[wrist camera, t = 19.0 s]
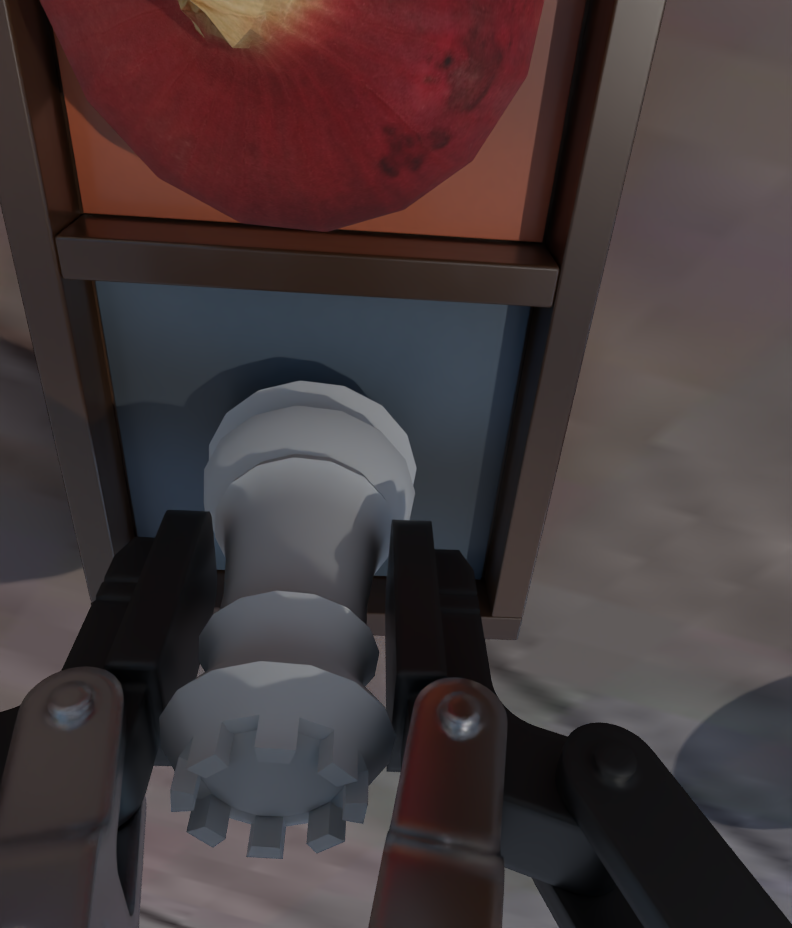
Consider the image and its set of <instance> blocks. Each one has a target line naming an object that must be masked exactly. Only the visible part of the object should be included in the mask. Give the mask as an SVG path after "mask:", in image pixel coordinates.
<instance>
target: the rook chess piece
mask: <svg viewBox="0 0 792 928" xmlns="http://www.w3.org/2000/svg"><path fill="white" fill-rule="evenodd" d="M416 469H417V468H416V464H415V461H414V457H413V454H412V450H411V446H410V443H409V439H408V436H407V434H406V433H405V432H404V430H403V429H402V428H401V427H400V426H399V425H398V423H397V422H396V421H395V420H394V419H393V418H392V417H391V415H390V414H389V413H388V412H387V411H386V410H385V408H384V407H383V406H382V405H380V404H378V403H376V402H374V401H372V400H370V399H368V398H366V397H365V396H363V395H361V394H359V393H357V392H355V391H353V390H351V389H349V388H347V387H345V386H340V385H332V384H324V383H316V382H308V381H296V382H292V383H288V384H283V385H279V386H275V387H270V388H266V389H262V390H258V391H257V392H255V393H254V394H252V395H251V396H250V397H248V398H247V399H245V400H244V401H243V402H241V403H240V404H239V405H237V406H236V407H234V408H233V409H232V410H230V411H229V412H227V413H226V415H225V416H224V418H223V420H222V422H221V424H220V426H219V427H218V429H217V431H216V433H215V435H214V437H213V438H212V440H211V442H210V444H209V461H208V463H207V465H206V467H205V469H204V508H205V511H209V512H210V513H211V516H212V524H213V531H214V533H215V538H216V540H217V542H218V544H219V546H220V548H221V550H222V552H223V554H224V556H225V558H226V564H225V581H224V594H223V598H222V602H221V606H220V610H219V611H218V612H216V613H214V614H213V615H212V617H211V618H210V620H209V621H208V623H207V625H206V626H205V628H204V629H203V631H202V632H201V634H200V635H199V662H200V664H201V666H202V667H203V669H204V671H205V673H203V674H202V675H200V676H198V677H197V678H195V679H194V680H192V681H191V682H189V683H188V684H186V685H184V686H183V687H181V688H180V689H178V690H177V691H176V693H175V694H174V696H173V697H172V699H171V700H170V702H169V703H168V705H167V706H166V708H165V709H164V711H163V712H162V714H161V715H160V717H159V727H160V747H161V748H162V750H163V752H164V754H165V755H166V757H167V759H168V760H169V762H170V764H171V766H172V767H173V769H174V771H175V774H174V778H173V782H172V785H171V789H170V793H171V812H180V811H191V814H190V819H189V823H188V827H187V833H189V834H191V835H192V836H194V837H196V838H197V839H199V840H201V841H203V842H204V843H206V844H208V845H209V846H211V847H215V846H216V845H217V844H219V843H220V842H222V841H223V840H224V839H225V838H226V833H227V827H228V821H229V818H231V819H235V820H238V821H242V822H245V823H248V824H251V830H250V837H249V843H248V850H247V857H258V858H276V859H283V850H284V841H285V832H286V826H292V825H298V824H304V823H308V832H307V844H308V845H309V846H310V847H311V848H312V849H313V850H314V851H315V852H316V853H319V852H322V851H324V850H326V849H329V848H331V847H333V846H336V845H338V844H340V843H343V842H345V828H346V821H350V822H356V823H362V824H363V822H364V818H365V814H366V809H367V805H368V786H369V785H370V784H371V783H372V781H373V780H374V779H375V778H376V777H377V776H378V775H379V774H380V772H381V771H382V770H383V769H384V768H385V767H386V766H387V765H388V764H389V762H390V758H391V754H392V750H393V745H394V741H395V737H396V734H395V732H394V729H393V727H392V724H391V722H390V719H389V717H388V714H387V711H386V709H385V707H384V706H383V705H382V704H381V703H380V702H379V701H378V699H377V698H376V697H375V696H374V695H373V694H372V693H371V692H370V691H369V690H368V689H367V688H366V687H365V686H366V685H367V684H368V683H369V682H370V680H371V679H372V678H373V677H374V676H375V671H376V666H377V661H378V656H379V650H378V647H377V645H376V642H375V640H374V637H373V634H372V632H371V629H370V628H369V627H368V626H367V605H368V600H369V595H370V590H371V585H372V580H373V576H374V574H375V573H376V572H377V571H378V569H379V568H380V567H381V565H382V564H383V563H384V562H385V560H386V559H387V558H388V556H389V544H390V532H391V522H392V519H395V520H410V515H411V511H412V506H413V501H414V496H415V490H414V487H413V484H414V479H415V474H416Z"/></svg>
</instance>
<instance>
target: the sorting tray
mask: <svg viewBox="0 0 792 928" xmlns="http://www.w3.org/2000/svg"><path fill="white" fill-rule="evenodd" d="M666 1H667V0H544V4H543V9H542V13H541V18H540V22H539V27H538V31H537V36H536V40H535V45H534V49H533V53H532V58H531V62H530V67H529V71H528V76H527V77H526V79H525V80H524V82H523V84H522V85H521V87H520V88H519V90H518V91H517V93H516V94H515V96H514V98H513V99H512V101H511V102H510V104H509V105H508V107H507V108H506V110H505V111H504V113H503V115H502V116H501V118H500V119H499V121H498V122H497V124H496V125H495V127H494V129H493V130H492V132H491V133H490V135H489V136H488V138H487V139H486V141H485V143H484V144H483V146H482V147H481V149H480V150H479V152H478V153H477V155H476V157H475V158H474V160H473V161H472V162H470V163H469V164H468V165H466V166H465V167H463V168H462V169H461V170H459V171H458V172H456V173H455V174H454V175H452V176H451V177H449V178H448V179H447V180H445V181H444V182H442V183H441V184H440V185H438V186H437V187H435V188H434V189H433V190H431V191H430V192H428V193H427V194H426V195H424V196H423V197H421V198H420V199H419V200H417V201H416V202H414V203H413V204H412V205H410V206H409V207H407V208H406V209H405V210H402V211H398V212H395V213H391V214H388V215H384V216H381V217H377V218H374V219H370V220H367V221H363V222H360V223H356V224H353V225H349V226H346V227H343V228H339V229H336V230H332V231H329V232H320V231H311V230H301V229H292V228H282V227H272V226H263V225H253V224H244V223H240V222H238V221H236V220H234V219H232V218H231V217H229V216H227V215H225V214H223V213H221V212H220V211H218V210H216V209H214V208H212V207H211V206H209V205H207V204H205V203H203V202H201V201H200V200H198V199H196V198H194V197H192V196H190V195H189V194H187V193H185V192H183V191H181V190H180V189H178V188H176V187H174V186H172V185H170V184H168V183H166V182H165V181H163V180H161V179H159V178H158V177H157V176H156V175H155V174H154V173H153V172H152V171H151V169H150V168H149V167H148V166H147V165H146V164H145V163H144V162H143V161H142V160H141V159H140V158H139V156H138V155H137V154H136V153H135V152H134V151H133V150H132V149H131V148H130V147H129V146H128V144H127V143H126V142H125V141H124V140H123V139H122V138H121V137H120V136H119V135H118V134H117V133H116V131H115V130H114V129H113V128H112V127H111V126H110V125H109V124H108V123H107V122H106V121H105V119H104V118H103V117H102V116H101V115H100V114H99V113H98V112H97V111H96V110H95V109H94V107H93V106H92V105H91V104H90V103H89V102H88V101H87V99H86V97H85V95H84V93H83V91H82V88H81V86H80V84H79V82H78V80H77V78H76V76H75V74H74V72H73V69H72V67H71V65H70V63H69V61H68V59H67V57H66V55H65V52H64V50H63V48H62V46H61V44H60V42H59V40H58V38H57V36H56V33H55V31H54V29H53V27H52V25H51V23H50V21H49V19H48V17H47V15H46V13H45V11H44V9H43V7H42V5H41V3H40V1H39V0H0V204H1V208H2V213H3V217H4V222H5V226H6V230H7V235H8V239H9V243H10V248H11V252H12V257H13V261H14V265H15V270H16V274H17V279H18V283H19V287H20V292H21V296H22V301H23V305H24V309H25V314H26V318H27V323H28V327H29V331H30V336H31V340H32V345H33V349H34V353H35V358H36V362H37V367H38V371H39V375H40V380H41V384H42V389H43V393H44V397H45V402H46V406H47V411H48V415H49V419H50V424H51V428H52V433H53V437H54V441H55V446H56V450H57V455H58V459H59V463H60V468H61V472H62V477H63V481H64V485H65V490H66V494H67V499H68V503H69V507H70V512H71V516H72V521H73V525H74V529H75V534H76V538H77V543H78V547H79V551H80V556H81V560H82V565H83V569H84V573H85V578H86V582H87V587H88V591H89V595H90V600H91V602H92V603H93V601H95V600H96V594H97V592H98V590H99V588H100V586H101V583H102V582H104V577H105V575H106V573H107V570H108V568H109V566H110V564H111V562H112V559H113V557H114V555H115V554H117V553H118V552H119V551H120V550H121V549H122V548H123V547H124V546H125V545H126V544H128V543H129V542H130V541H131V540H132V539H133V538H134V537H156V534H157V532H158V529H159V527H160V524H161V522H162V519H163V517H164V514H165V512H166V511H167V510H190V511H205V508H204V469H205V467H206V465H207V463H208V461H209V444H210V442H211V440H212V438H213V437H214V435H215V433H216V431H217V429H218V427H219V426H220V424H221V422H222V420H223V418H224V416H225V415H226V413H227V412H229V411H230V410H232V409H233V408H234V407H236V406H237V405H239V404H240V403H241V402H243V401H244V400H245V399H247V398H248V397H250V396H251V395H252V394H254V393H255V392H257V391H258V390H262V389H266V388H270V387H275V386H279V385H283V384H288V383H292V382H296V381H308V382H316V383H324V384H332V385H340V386H345V387H347V388H349V389H351V390H353V391H355V392H357V393H359V394H361V395H363V396H365V397H366V398H368V399H370V400H372V401H374V402H376V403H378V404H380V405H382V406H383V407H384V408H385V410H386V411H387V412H388V413H389V414H390V415H391V417H392V418H393V419H394V420H395V421H396V422H397V423H398V425H399V426H400V427H401V428H402V429H403V430H404V432H405V433H406V434H407V436H408V439H409V443H410V446H411V450H412V454H413V457H414V461H415V464H416V468H417V469H416V474H415V479H414V484H413V487H414V490H415V496H414V501H413V506H412V511H411V515H410V520H419V521H431V522H432V528H433V538H434V549H447V550H459V551H460V552H461V553H462V555H463V556H464V557H465V559H466V560H467V562H468V563H469V564H470V566H471V567H472V568H473V570H474V576H475V582H476V588H477V596H478V601H479V607H480V615H481V619H482V625H483V632H484V638H485V639H500V640H517V639H518V635H519V631H520V626H521V622H522V617H523V613H524V609H525V605H526V601H527V596H528V592H529V588H530V583H531V579H532V575H533V571H534V566H535V562H536V558H537V553H538V549H539V545H540V541H541V536H542V532H543V528H544V524H545V519H546V515H547V511H548V506H549V502H550V498H551V494H552V489H553V485H554V481H555V476H556V472H557V468H558V464H559V459H560V455H561V451H562V446H563V442H564V438H565V434H566V429H567V425H568V421H569V416H570V412H571V408H572V404H573V399H574V395H575V391H576V387H577V382H578V378H579V374H580V369H581V365H582V361H583V357H584V352H585V348H586V344H587V339H588V335H589V331H590V327H591V322H592V318H593V314H594V309H595V305H596V301H597V297H598V292H599V288H600V284H601V279H602V275H603V271H604V267H605V262H606V258H607V254H608V250H609V245H610V241H611V237H612V232H613V228H614V224H615V220H616V215H617V211H618V207H619V202H620V198H621V194H622V190H623V185H624V181H625V177H626V172H627V168H628V164H629V160H630V155H631V151H632V147H633V142H634V138H635V134H636V130H637V125H638V121H639V117H640V113H641V108H642V104H643V100H644V95H645V91H646V87H647V83H648V78H649V74H650V70H651V65H652V61H653V57H654V53H655V48H656V44H657V40H658V35H659V31H660V27H661V23H662V18H663V14H664V10H665V5H666ZM213 535H214V545H215V556H216V567H217V595H216V602H215V608H214V612H213V614H214V613H216V612H218V611H219V610H220V606H221V602H222V598H223V594H224V581H225V564H226V558H225V556H224V554H223V552H222V550H221V548H220V546H219V544H218V542H217V540H216V538H215V533H214V531H213ZM387 568H388V558H387V559H386V560H385V562H384V563H383V564H382V565H381V567H380V568H379V569H378V571H377V572H376V573H375V574H374V576H373V580H372V585H371V590H370V595H369V600H368V605H367V626H368V627H369V628H370V629H371V632H372V634H373V635H378V636H385V598H386V580H387ZM92 603H91V605H92Z"/></svg>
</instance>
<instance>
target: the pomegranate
mask: <svg viewBox="0 0 792 928" xmlns="http://www.w3.org/2000/svg"><path fill="white" fill-rule="evenodd" d="M39 1H40V3H41V5H42V7H43V9H44V11H45V13H46V15H47V17H48V19H49V21H50V23H51V25H52V27H53V29H54V31H55V33H56V36H57V38H58V40H59V42H60V44H61V46H62V48H63V50H64V52H65V55H66V57H67V59H68V61H69V63H70V65H71V67H72V69H73V72H74V74H75V76H76V78H77V80H78V82H79V84H80V86H81V88H82V91H83V93H84V95H85V97H86V99H87V101H88V102H89V103H90V104H91V105H92V106H93V107H94V109H95V110H96V111H97V112H98V113H99V114H100V115H101V116H102V117H103V118H104V119H105V121H106V122H107V123H108V124H109V125H110V126H111V127H112V128H113V129H114V130H115V131H116V133H117V134H118V135H119V136H120V137H121V138H122V139H123V140H124V141H125V142H126V143H127V144H128V146H129V147H130V148H131V149H132V150H133V151H134V152H135V153H136V154H137V155H138V156H139V158H140V159H141V160H142V161H143V162H144V163H145V164H146V165H147V166H148V167H149V168H150V169H151V171H152V172H153V173H154V174H155V175H156V176H157V177H158V178H159V179H161V180H163V181H165V182H166V183H168V184H170V185H172V186H174V187H176V188H178V189H180V190H181V191H183V192H185V193H187V194H189V195H190V196H192V197H194V198H196V199H198V200H200V201H201V202H203V203H205V204H207V205H209V206H211V207H212V208H214V209H216V210H218V211H220V212H221V213H223V214H225V215H227V216H229V217H231V218H232V219H234V220H236V221H238V222H240V223H244V224H253V225H263V226H272V227H282V228H292V229H301V230H311V231H320V232H329V231H332V230H336V229H339V228H343V227H346V226H349V225H353V224H356V223H360V222H363V221H367V220H370V219H374V218H377V217H381V216H384V215H388V214H391V213H395V212H398V211H402V210H405V209H406V208H407V207H409V206H410V205H412V204H413V203H414V202H416V201H417V200H419V199H420V198H421V197H423V196H424V195H426V194H427V193H428V192H430V191H431V190H433V189H434V188H435V187H437V186H438V185H440V184H441V183H442V182H444V181H445V180H447V179H448V178H449V177H451V176H452V175H454V174H455V173H456V172H458V171H459V170H461V169H462V168H463V167H465V166H466V165H468V164H469V163H470V162H472V161H473V160H474V158H475V157H476V155H477V153H478V152H479V150H480V149H481V147H482V146H483V144H484V143H485V141H486V139H487V138H488V136H489V135H490V133H491V132H492V130H493V129H494V127H495V125H496V124H497V122H498V121H499V119H500V118H501V116H502V115H503V113H504V111H505V110H506V108H507V107H508V105H509V104H510V102H511V101H512V99H513V98H514V96H515V94H516V93H517V91H518V90H519V88H520V87H521V85H522V84H523V82H524V80H525V79H526V77H527V76H528V71H529V67H530V62H531V58H532V53H533V49H534V45H535V40H536V36H537V31H538V27H539V22H540V18H541V13H542V9H543V4H544V0H39Z"/></svg>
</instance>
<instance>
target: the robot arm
mask: <svg viewBox="0 0 792 928" xmlns="http://www.w3.org/2000/svg"><path fill="white" fill-rule="evenodd" d="M216 595H217V567H216V556H215V545H214V535H213V524H212V516H211V513H210V512H209V511H190V510H167V511H166V512H165V514H164V517H163V519H162V522H161V524H160V527H159V529H158V532H157V534H156V537H134V538H133V539H132V540H131V541H130V542H129V543H128V544H126V545H125V546H124V547H123V548H122V549H121V550H120V551H119V552H118V553H117V554H115V555H114V557H113V559H112V562H111V564H110V566H109V568H108V570H107V573H106V575H105V577H104V582H102V583H101V586H100V588H99V590H98V592H97V594H96V600H95V601H93V603H92V605H91V607H90V610H89V612H88V614H87V616H86V618H85V621H84V623H83V625H82V627H81V629H80V631H79V634H78V636H77V638H76V640H75V642H74V644H73V647H72V649H71V651H70V653H69V655H68V658H67V660H66V662H65V664H64V666H63V668H62V670H61V671H60V672H57V673H55V674H53V675H51V676H49V677H47V678H45V679H44V680H42V681H41V682H40V683H38V684H37V685H36V686H35V687H34V688H33V689H32V690H31V691H30V692H29V693H28V694H27V695H26V697H25V698H24V700H23V701H22V703H21V705H20V706H17V707H15V708H12V709H9V710H6V711H3V712H0V928H139V918H140V902H141V886H142V871H143V855H144V839H145V823H146V808H147V807H146V797H145V793H146V790H147V786H148V783H149V779H150V776H151V772H152V769H153V766H171V764H170V762H169V760H168V759H167V757H166V755H165V754H164V752H163V750H162V748H161V747H160V727H159V717H160V715H161V714H162V712H163V711H164V709H165V708H166V706H167V705H168V703H169V702H170V700H171V699H172V697H173V696H174V694H175V693H176V691H177V690H178V689H180V688H181V687H183V686H184V685H186V684H188V683H189V682H191V681H192V680H194V679H195V678H196V677H197V673H198V669H199V666H200V662H199V635H200V634H201V632H202V631H203V629H204V628H205V626H206V625H207V623H208V621H209V620H210V618H211V617H212V615H213V612H214V608H215V602H216ZM385 649H386V711H387V714H388V717H389V719H390V722H391V724H392V727H393V729H394V732H395V734H396V737H395V741H394V745H393V750H392V754H391V758H390V762H389V764H388V765H387V772H401V773H400V779H399V784H398V789H397V794H396V799H395V804H394V810H393V815H392V820H391V825H390V829H389V831H388V833H387V837H386V841H385V846H384V850H383V855H382V860H381V866H380V871H379V876H378V881H377V886H376V891H375V896H374V901H373V906H372V911H371V917H370V922H369V927H368V928H502V915H503V896H504V871H505V870H504V867H505V868H508V869H510V870H513V871H516V872H518V873H521V874H524V875H527V876H529V877H532V879H533V881H534V883H535V885H536V887H537V889H538V891H539V892H540V894H541V896H542V898H543V900H544V901H545V903H546V905H547V907H548V908H549V910H550V912H551V914H552V916H553V917H554V919H555V921H556V923H557V925H558V926H559V928H792V924H791V923H790V922H789V920H788V919H787V918H786V917H785V915H784V914H783V913H782V912H781V910H780V909H779V908H778V907H777V905H776V904H775V903H774V902H773V900H772V899H771V898H770V897H769V895H768V894H767V893H766V892H765V890H764V889H763V888H762V887H761V885H760V884H759V883H758V882H757V880H756V879H755V878H754V877H753V875H752V874H751V873H750V872H749V870H748V869H747V868H746V867H745V865H744V864H743V863H742V862H741V860H740V859H739V858H738V857H737V855H736V854H735V853H734V852H733V850H732V849H731V848H730V847H729V845H728V844H727V843H726V842H725V840H724V839H723V838H722V837H721V835H720V834H719V833H718V832H717V830H716V829H715V828H714V827H713V825H712V824H711V823H710V822H709V820H708V819H707V818H706V817H705V815H704V814H703V813H702V812H701V810H700V809H699V808H698V807H697V805H696V804H695V803H694V802H693V800H692V799H691V798H690V797H689V795H688V794H687V793H686V792H685V790H684V789H683V788H682V787H681V785H680V784H679V783H678V782H677V780H676V779H675V778H674V777H673V775H672V774H671V773H670V772H669V770H668V769H667V768H666V767H665V765H664V764H663V763H662V762H661V760H660V759H659V758H658V757H657V755H656V754H655V753H654V752H653V750H652V749H651V748H650V747H649V746H648V745H647V744H646V743H645V742H644V741H643V740H642V739H641V738H639V737H638V736H637V735H635V734H634V733H632V732H630V731H628V730H626V729H624V728H622V727H619V726H616V725H613V724H608V723H589V724H586V725H582V726H580V727H578V728H576V729H575V730H574V731H573V732H571V734H570V735H569V736H568V737H567V736H564V735H561V734H558V733H555V732H551V731H548V730H545V729H542V728H539V727H536V726H534V725H531V724H529V723H527V722H525V721H523V720H521V719H520V718H518V717H517V716H515V715H514V714H512V713H511V712H510V711H509V710H508V709H507V708H506V707H505V706H504V705H503V704H502V702H501V701H500V700H499V698H498V696H497V695H496V693H495V691H494V688H493V685H492V681H491V675H490V669H489V662H488V656H487V650H486V644H485V638H484V632H483V625H482V619H481V615H480V607H479V601H478V596H477V588H476V582H475V576H474V570H473V568H472V567H471V566H470V564H469V563H468V562H467V560H466V559H465V557H464V556H463V555H462V553H461V552H460V551H459V550H447V549H434V538H433V528H432V522H431V521H419V520H395V519H392V522H391V532H390V544H389V556H388V568H387V580H386V598H385Z"/></svg>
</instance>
